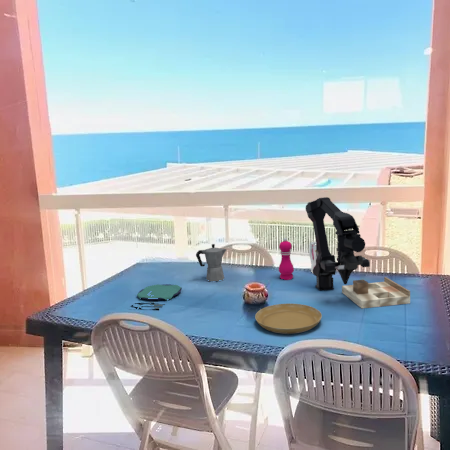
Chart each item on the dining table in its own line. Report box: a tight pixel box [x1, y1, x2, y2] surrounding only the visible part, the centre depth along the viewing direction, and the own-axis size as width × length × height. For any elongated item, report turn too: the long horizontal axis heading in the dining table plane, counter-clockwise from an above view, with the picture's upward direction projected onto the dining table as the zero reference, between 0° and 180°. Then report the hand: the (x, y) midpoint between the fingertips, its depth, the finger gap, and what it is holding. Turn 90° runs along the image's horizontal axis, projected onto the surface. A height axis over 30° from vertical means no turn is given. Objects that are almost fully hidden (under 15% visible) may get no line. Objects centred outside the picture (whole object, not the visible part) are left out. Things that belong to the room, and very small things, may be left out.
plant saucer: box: [254, 303, 323, 335], centre depth 168 cm, size 24×24×3 cm
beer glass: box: [308, 241, 318, 274], centre depth 228 cm, size 7×7×15 cm
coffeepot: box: [195, 243, 227, 282], centre depth 225 cm, size 15×9×18 cm, turn 103°
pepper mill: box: [278, 237, 295, 281], centre depth 221 cm, size 7×7×20 cm
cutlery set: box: [136, 283, 183, 309], centre depth 204 cm, size 20×30×2 cm, turn 165°
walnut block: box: [352, 279, 369, 294], centre depth 187 cm, size 4×4×4 cm
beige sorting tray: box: [341, 276, 411, 309], centre depth 188 cm, size 20×20×5 cm
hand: (345, 284), depth 186 cm, fingers closed
